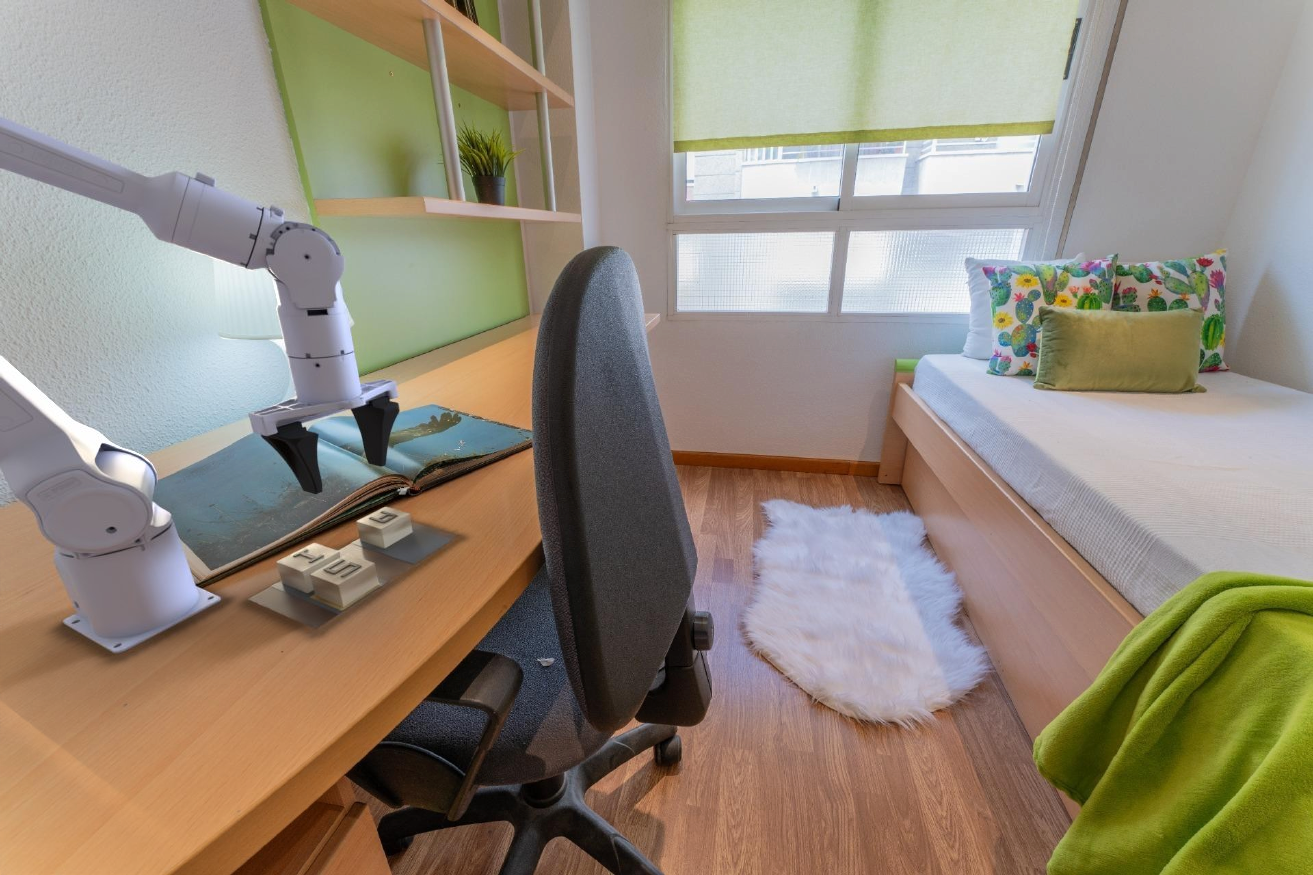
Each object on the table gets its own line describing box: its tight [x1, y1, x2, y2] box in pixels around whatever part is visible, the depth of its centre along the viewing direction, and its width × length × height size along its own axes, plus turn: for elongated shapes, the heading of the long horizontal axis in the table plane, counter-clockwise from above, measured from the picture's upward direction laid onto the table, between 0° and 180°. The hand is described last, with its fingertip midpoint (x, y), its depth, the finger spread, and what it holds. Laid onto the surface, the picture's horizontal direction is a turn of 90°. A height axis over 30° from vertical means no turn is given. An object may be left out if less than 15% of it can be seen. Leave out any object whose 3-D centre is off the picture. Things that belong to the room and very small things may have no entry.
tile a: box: [356, 506, 412, 549], centre depth 61 cm, size 4×4×3 cm
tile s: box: [310, 554, 379, 607], centre depth 52 cm, size 4×4×3 cm
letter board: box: [247, 520, 460, 630], centre depth 57 cm, size 10×18×1 cm, turn 156°
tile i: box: [275, 542, 341, 593], centre depth 54 cm, size 4×4×3 cm
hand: (346, 477), depth 56 cm, fingers open, 7 cm apart
